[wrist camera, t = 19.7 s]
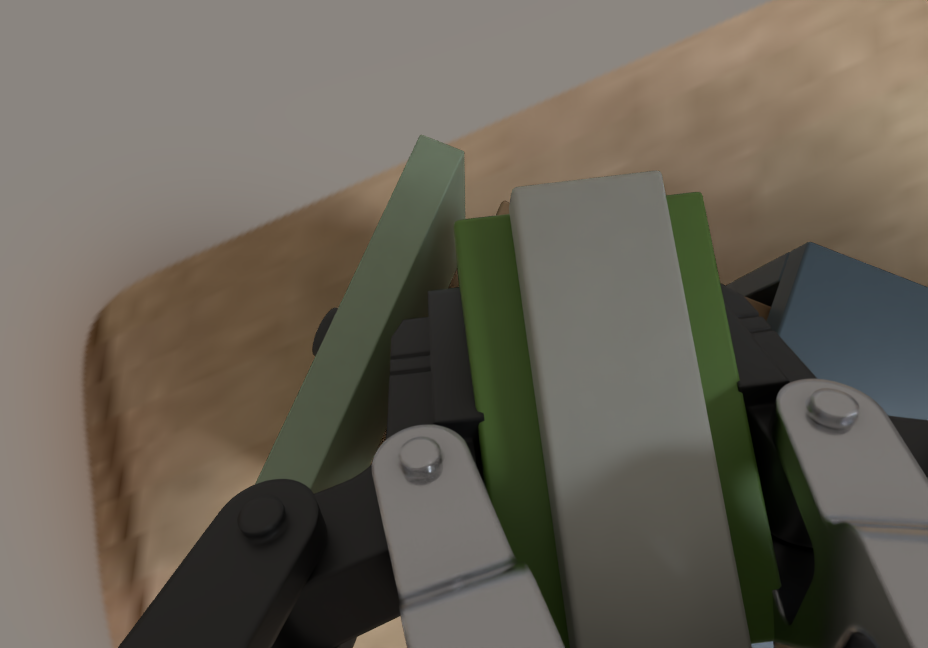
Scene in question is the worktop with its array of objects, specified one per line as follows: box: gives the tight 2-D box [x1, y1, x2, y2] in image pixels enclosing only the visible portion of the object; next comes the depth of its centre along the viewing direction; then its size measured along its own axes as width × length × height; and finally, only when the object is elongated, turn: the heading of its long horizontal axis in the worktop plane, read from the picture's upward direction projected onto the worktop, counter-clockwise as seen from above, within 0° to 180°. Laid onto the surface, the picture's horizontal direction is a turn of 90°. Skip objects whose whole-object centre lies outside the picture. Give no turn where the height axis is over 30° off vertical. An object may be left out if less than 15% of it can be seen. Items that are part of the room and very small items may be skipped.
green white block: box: [454, 171, 781, 648], centre depth 11 cm, size 4×6×8 cm, turn 7°
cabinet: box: [726, 242, 928, 648], centre depth 16 cm, size 14×12×10 cm
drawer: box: [256, 135, 771, 494], centre depth 17 cm, size 14×10×8 cm
